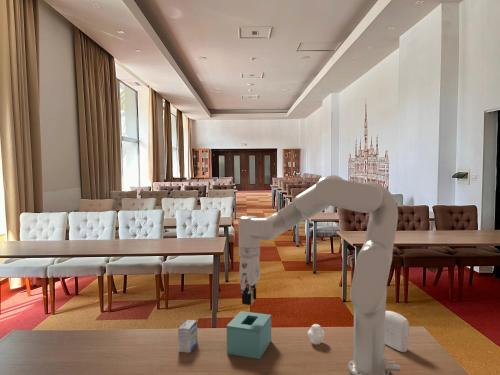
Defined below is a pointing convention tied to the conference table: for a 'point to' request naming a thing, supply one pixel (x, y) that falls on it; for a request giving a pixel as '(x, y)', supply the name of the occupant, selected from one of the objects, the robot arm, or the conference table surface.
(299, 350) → the conference table surface
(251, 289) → the tan wooden brick
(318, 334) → the white carved egg
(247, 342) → the teal slotted box
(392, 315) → the photo printer
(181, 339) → the medicine box
